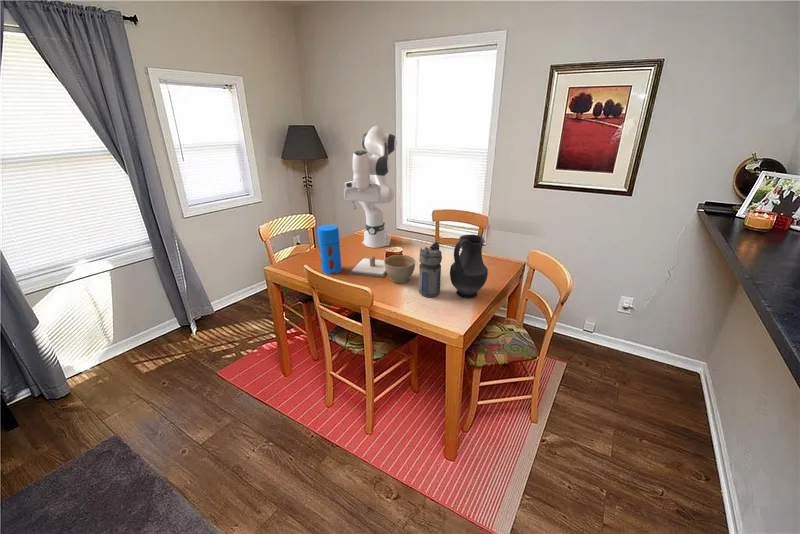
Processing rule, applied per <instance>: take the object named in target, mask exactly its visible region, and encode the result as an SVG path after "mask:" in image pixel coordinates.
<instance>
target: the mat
mask: <svg viewBox="0 0 800 534" xmlns="http://www.w3.org/2000/svg"><path fill="white" fill-rule="evenodd" d="M366 259H369V258H368V257H367V258H366ZM375 259H376V258H375ZM376 260H379V259H378V258H377V259H376ZM354 268H355V266H354V267H353V268H352V269H351V270H350V271H349V272H348V275H355V276H363V277H364V276H365V277H373V278H379V279H384V278H385V276H386V275H388V274H387V272H385V273H384V274H383V275H377V274H368V273H359V272H352V270H353V269H354Z"/></svg>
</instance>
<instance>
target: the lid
mask: <svg viewBox="0 0 800 534" xmlns="http://www.w3.org/2000/svg"><path fill="white" fill-rule="evenodd" d="M384 260H385V259H378V260H376V256H369V258H368V259H366V258H364V257H363V258H362V259H361V260H360V261H359V262H358V263H357V264H356V265H355V266H354V267H355V268H354V267H353V268H354V269H353V268H352V269H353V270H352V269H351V270H352V272H359V273H368V274H377V275H383V274H384V273H385V272H386V269H385V264H384Z"/></svg>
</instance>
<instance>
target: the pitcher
mask: <svg viewBox="0 0 800 534" xmlns="http://www.w3.org/2000/svg"><path fill="white" fill-rule="evenodd" d="M458 239H459V240H458V241H457V242H456V244H455V247H454V249H453V260H454V262H452V264H451V265H450V269H449V279H450V281H451V284H452V286H453V287H454V288H455V289H456V292H455V293H456V295H457V296H458V297H460V298H462V299H465V300H467V299H468V300H469V299H473V298H476V297H477V295H478V293H477V292H478V291H480V290H481V289H482V288H483V287H484V286H485V284H486V282H487V280H488V275H489V269H488V267H487V266H486V265H485V262H484V260H483V254H482V253H483V251H482V249H483V246H484V244H485V242H486V239H485V237H484V236H481V235H478V234H462V235H461V236H459V238H458Z"/></svg>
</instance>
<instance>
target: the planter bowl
mask: <svg viewBox="0 0 800 534" xmlns="http://www.w3.org/2000/svg"><path fill="white" fill-rule="evenodd" d="M383 260H384V264H385V269H386V272H387V274H386V275H387V276H388V277H389V278H390V281H391V282H393V283H395V284H404V283H407V282H409V280H410V278H411V276H412V275H413V273H414V270H415V268H416V259H415V258H414V257H412V256H410V255H406V254H396V255H391V256H388V257H385V259H383Z"/></svg>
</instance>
